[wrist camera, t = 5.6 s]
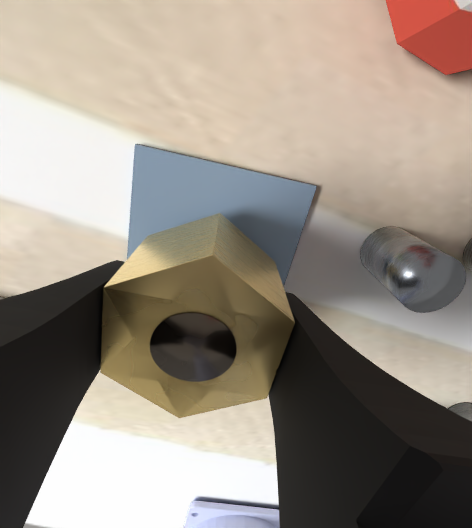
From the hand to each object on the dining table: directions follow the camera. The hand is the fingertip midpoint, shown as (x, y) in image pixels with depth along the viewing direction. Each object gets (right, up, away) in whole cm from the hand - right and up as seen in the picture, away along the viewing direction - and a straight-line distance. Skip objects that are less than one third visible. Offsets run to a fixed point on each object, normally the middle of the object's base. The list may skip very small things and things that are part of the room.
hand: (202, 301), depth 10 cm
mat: (0, +1, +3) cm, 3 cm away
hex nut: (0, +1, +1) cm, 2 cm away
